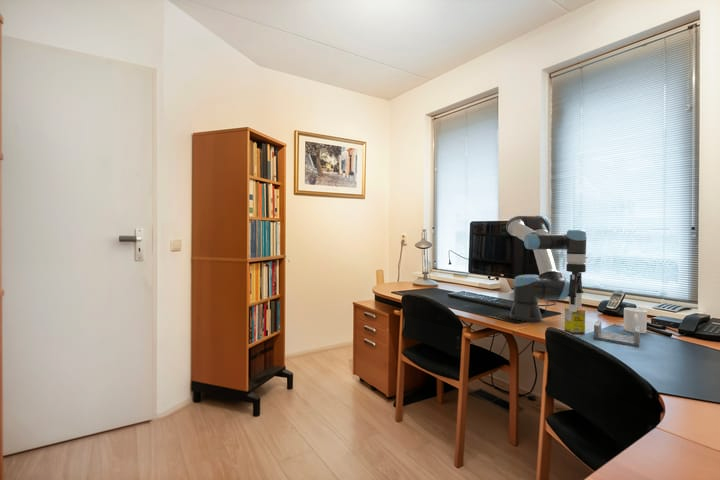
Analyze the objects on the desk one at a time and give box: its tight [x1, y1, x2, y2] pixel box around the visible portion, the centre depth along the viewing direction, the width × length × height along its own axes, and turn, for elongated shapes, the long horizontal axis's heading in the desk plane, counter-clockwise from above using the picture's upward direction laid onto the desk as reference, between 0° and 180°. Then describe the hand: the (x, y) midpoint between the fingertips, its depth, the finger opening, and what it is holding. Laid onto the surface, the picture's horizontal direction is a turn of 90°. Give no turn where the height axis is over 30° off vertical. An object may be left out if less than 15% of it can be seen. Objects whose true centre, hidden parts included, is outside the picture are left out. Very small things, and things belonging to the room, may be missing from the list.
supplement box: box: [564, 307, 586, 335], centre depth 154 cm, size 6×6×11 cm
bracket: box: [593, 319, 641, 348], centre depth 144 cm, size 15×12×6 cm
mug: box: [623, 307, 648, 334], centre depth 154 cm, size 12×8×10 cm
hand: (575, 309), depth 153 cm, fingers open, 13 cm apart
